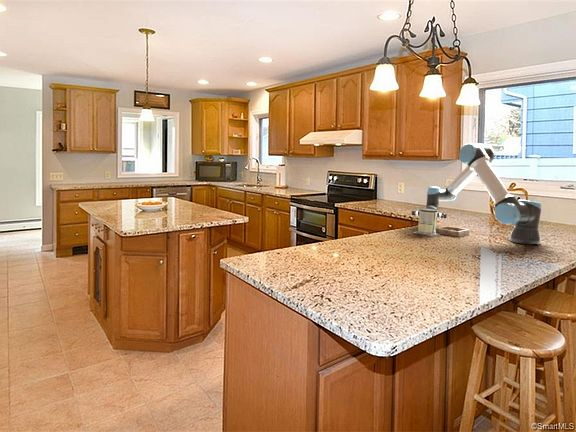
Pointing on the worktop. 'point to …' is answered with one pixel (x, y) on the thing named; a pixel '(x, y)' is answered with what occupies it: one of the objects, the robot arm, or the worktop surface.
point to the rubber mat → (427, 234)
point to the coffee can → (427, 221)
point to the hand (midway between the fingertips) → (427, 216)
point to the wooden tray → (452, 231)
